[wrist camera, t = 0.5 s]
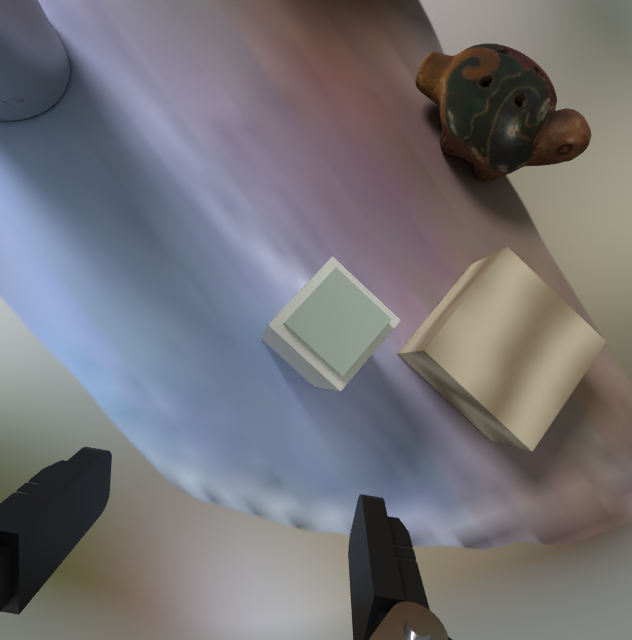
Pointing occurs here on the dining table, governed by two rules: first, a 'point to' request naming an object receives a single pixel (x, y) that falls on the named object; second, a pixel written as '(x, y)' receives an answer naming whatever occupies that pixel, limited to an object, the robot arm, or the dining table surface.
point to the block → (504, 350)
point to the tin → (330, 328)
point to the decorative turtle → (500, 111)
